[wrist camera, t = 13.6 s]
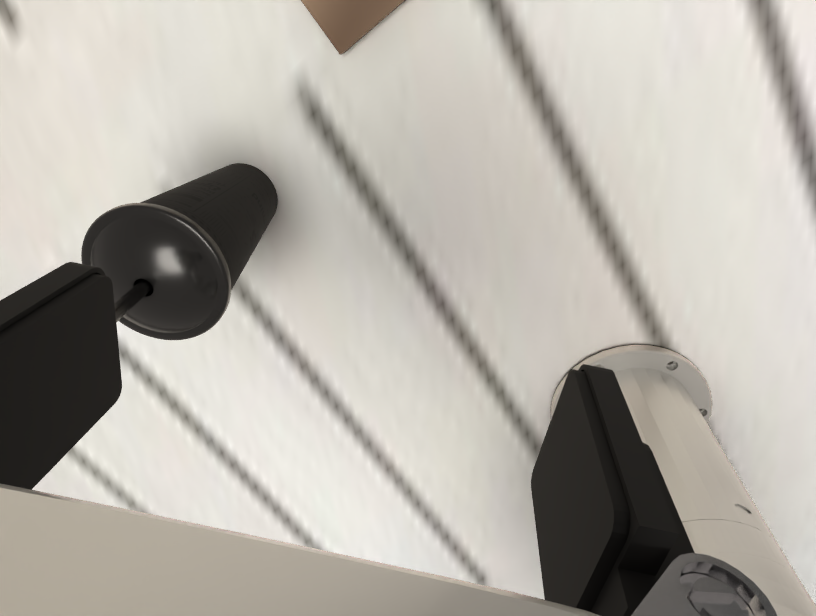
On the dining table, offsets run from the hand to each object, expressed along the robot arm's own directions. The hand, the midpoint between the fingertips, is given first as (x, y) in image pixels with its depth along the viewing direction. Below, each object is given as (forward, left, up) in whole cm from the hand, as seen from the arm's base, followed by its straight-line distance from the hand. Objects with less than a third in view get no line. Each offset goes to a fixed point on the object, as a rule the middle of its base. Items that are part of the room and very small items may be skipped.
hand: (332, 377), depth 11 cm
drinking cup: (+3, +14, -29) cm, 32 cm away
